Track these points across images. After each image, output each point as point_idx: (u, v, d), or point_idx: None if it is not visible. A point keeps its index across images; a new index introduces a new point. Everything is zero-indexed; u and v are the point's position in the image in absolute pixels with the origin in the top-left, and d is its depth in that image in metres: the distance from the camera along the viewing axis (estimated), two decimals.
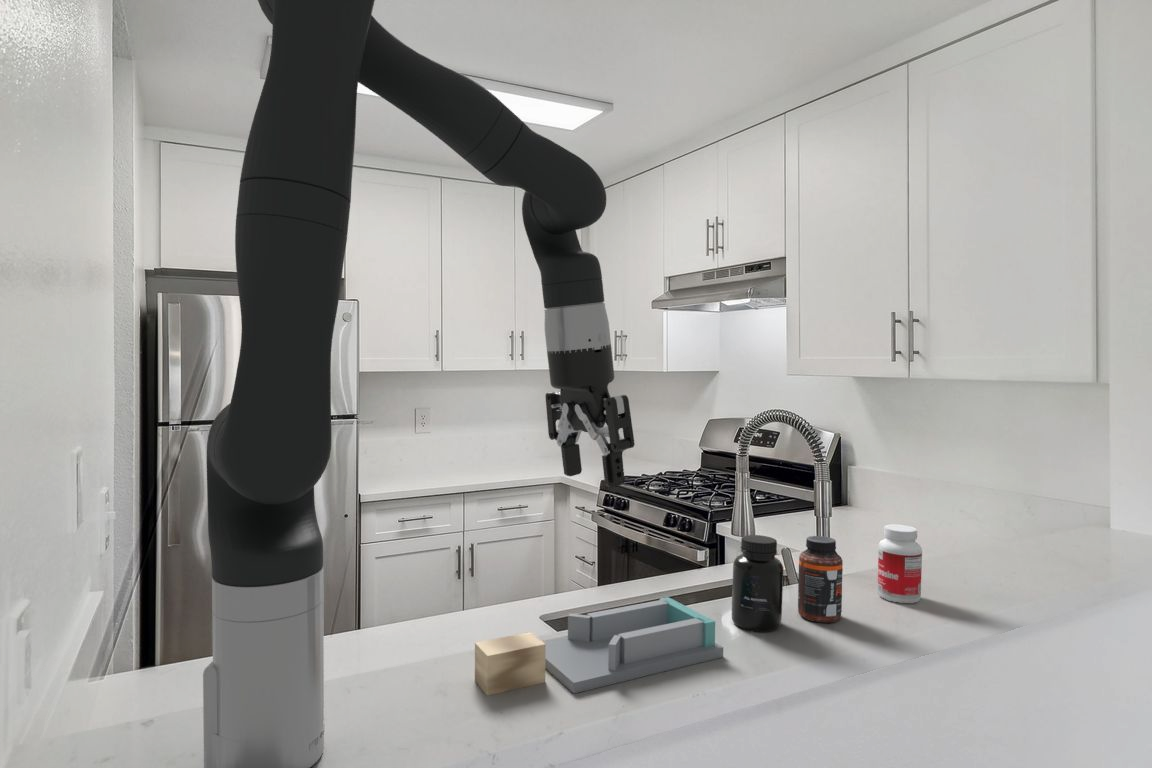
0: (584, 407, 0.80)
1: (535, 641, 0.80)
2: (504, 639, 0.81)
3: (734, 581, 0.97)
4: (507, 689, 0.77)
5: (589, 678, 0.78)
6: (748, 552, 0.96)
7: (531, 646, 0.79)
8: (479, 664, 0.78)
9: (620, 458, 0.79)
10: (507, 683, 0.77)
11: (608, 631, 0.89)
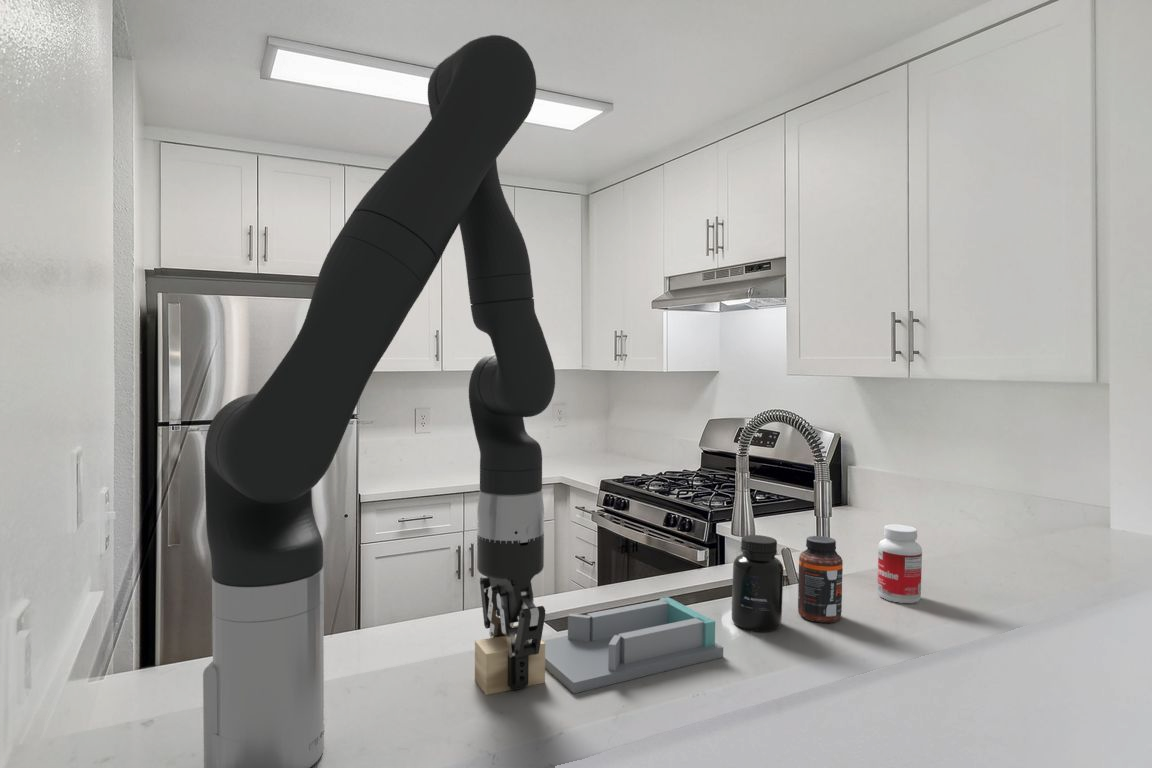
0: (505, 600, 0.77)
1: None
2: (504, 638, 0.81)
3: (734, 581, 0.97)
4: (506, 688, 0.77)
5: (589, 678, 0.78)
6: (748, 552, 0.96)
7: None
8: (479, 663, 0.79)
9: (525, 661, 0.77)
10: (506, 682, 0.77)
11: (608, 631, 0.89)
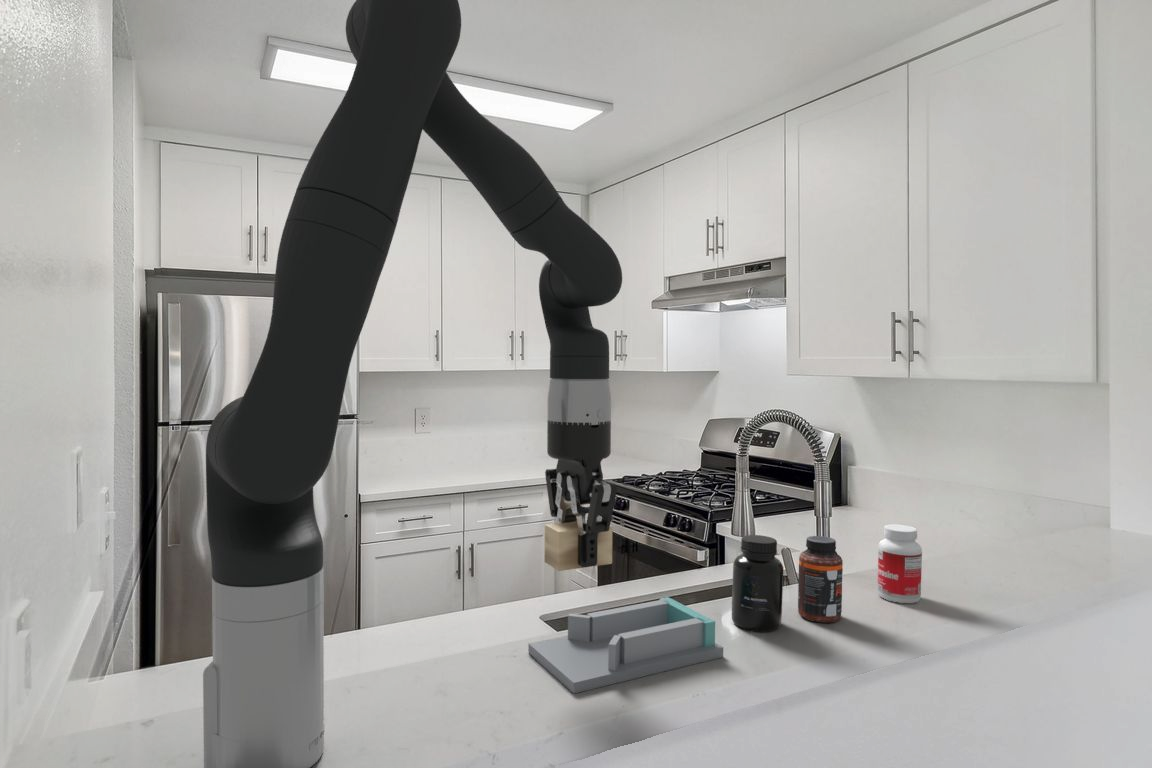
0: (575, 481, 0.81)
1: None
2: (572, 523, 0.84)
3: (734, 581, 0.97)
4: (577, 566, 0.81)
5: (589, 678, 0.78)
6: (748, 552, 0.96)
7: None
8: (550, 543, 0.82)
9: (595, 540, 0.81)
10: (577, 560, 0.81)
11: (608, 631, 0.89)
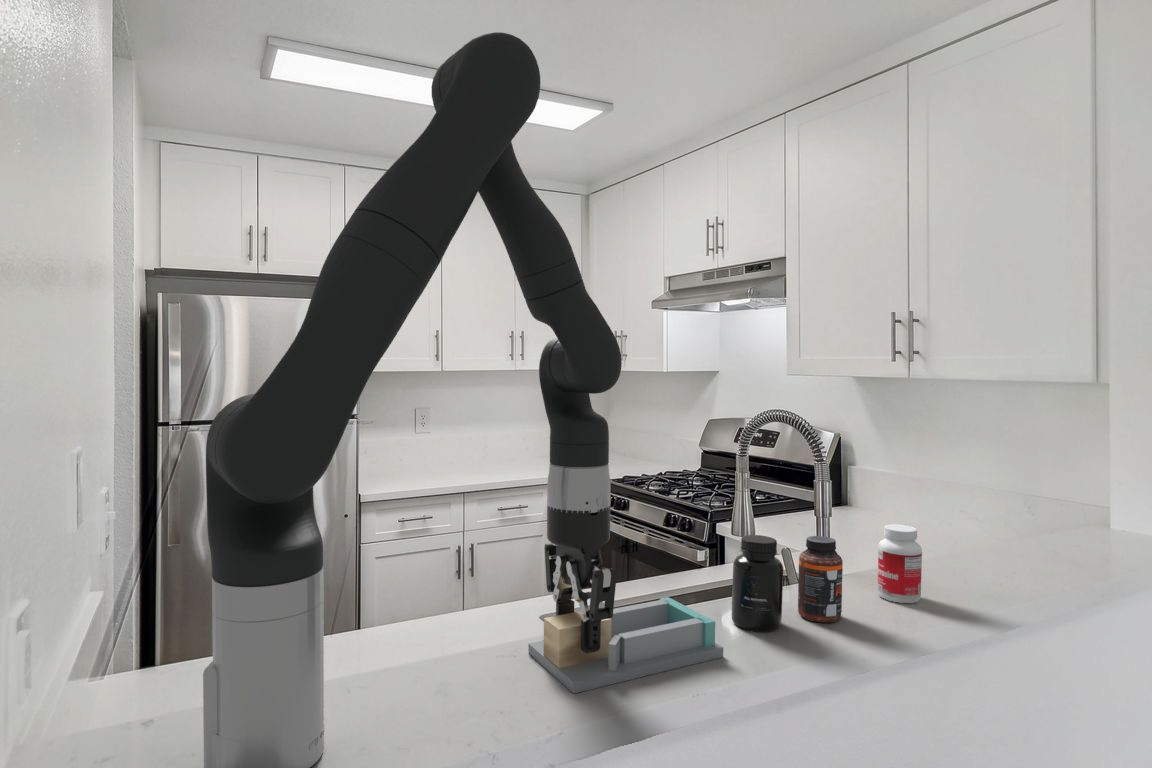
0: (575, 567, 0.81)
1: None
2: (571, 615, 0.85)
3: (734, 581, 0.97)
4: (577, 661, 0.81)
5: (589, 678, 0.78)
6: (748, 552, 0.96)
7: None
8: (549, 638, 0.82)
9: (598, 626, 0.80)
10: (577, 656, 0.81)
11: None
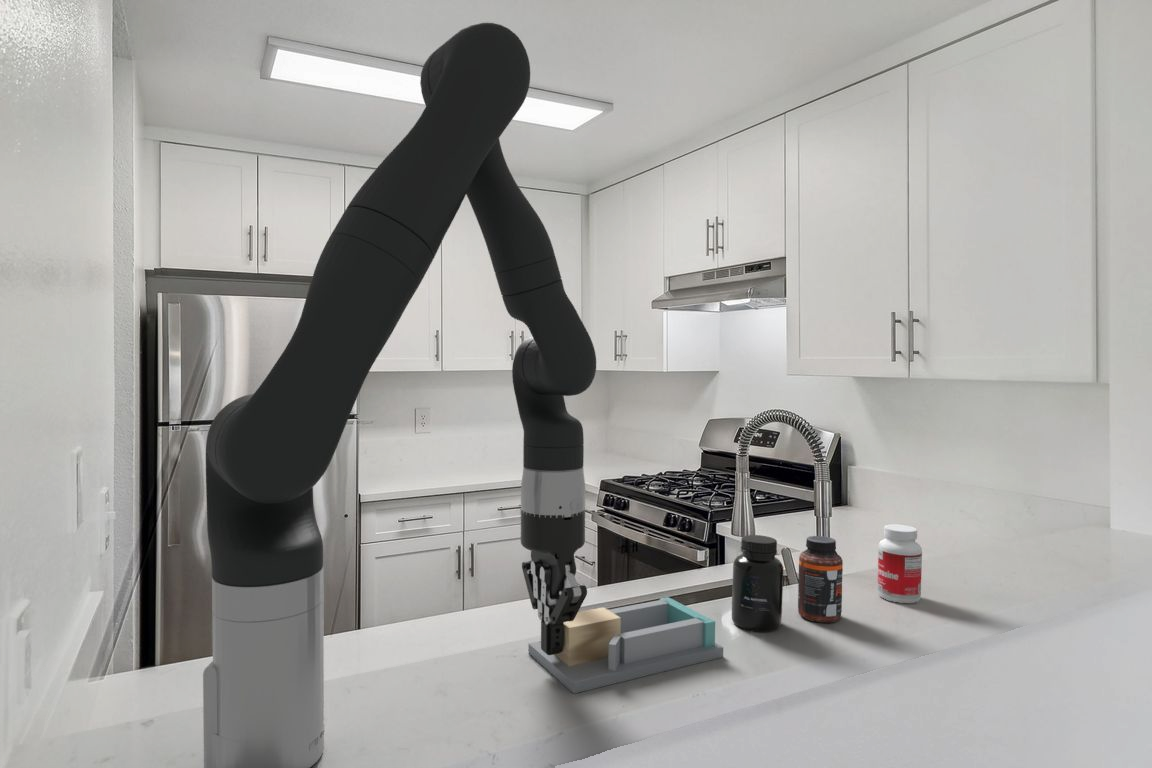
0: (548, 575, 0.80)
1: (610, 615, 0.85)
2: (580, 613, 0.85)
3: (734, 581, 0.97)
4: (586, 659, 0.82)
5: (589, 678, 0.78)
6: (748, 552, 0.96)
7: (607, 619, 0.83)
8: None
9: (560, 628, 0.81)
10: (586, 654, 0.82)
11: None
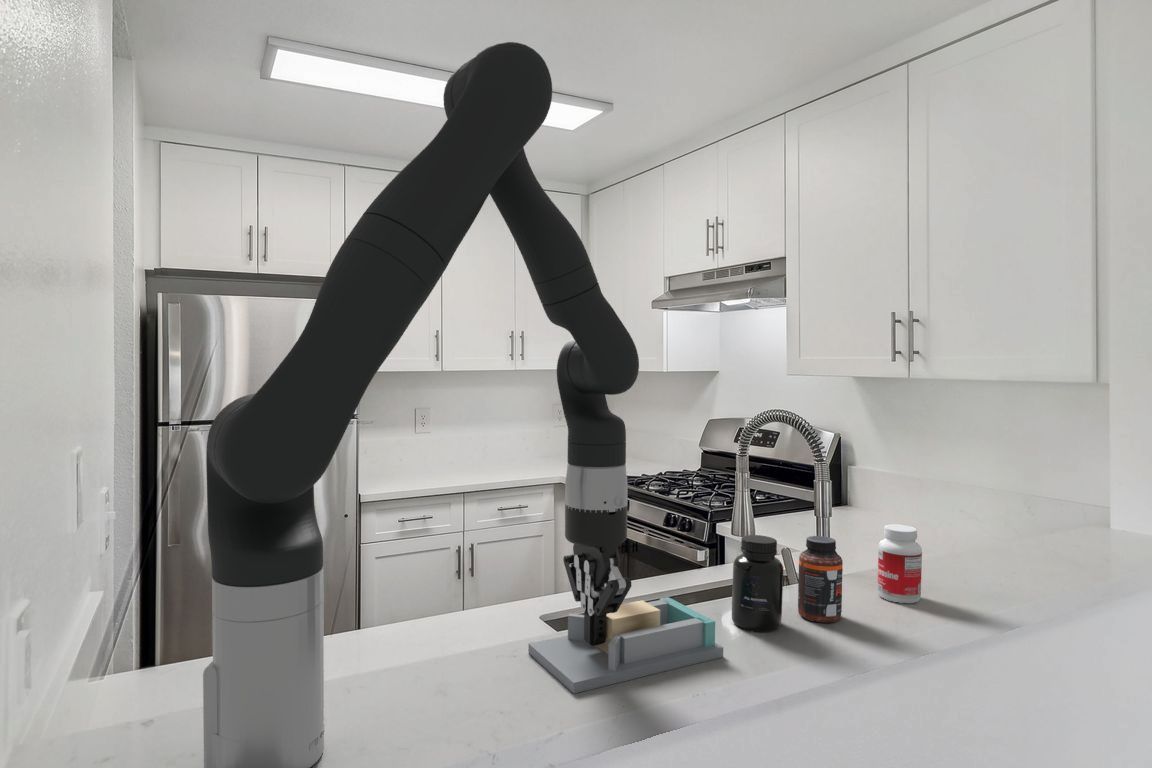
0: (593, 568, 0.82)
1: (650, 607, 0.88)
2: (621, 606, 0.88)
3: (734, 581, 0.97)
4: None
5: (589, 678, 0.78)
6: (748, 552, 0.96)
7: (648, 612, 0.86)
8: None
9: (603, 619, 0.84)
10: None
11: None
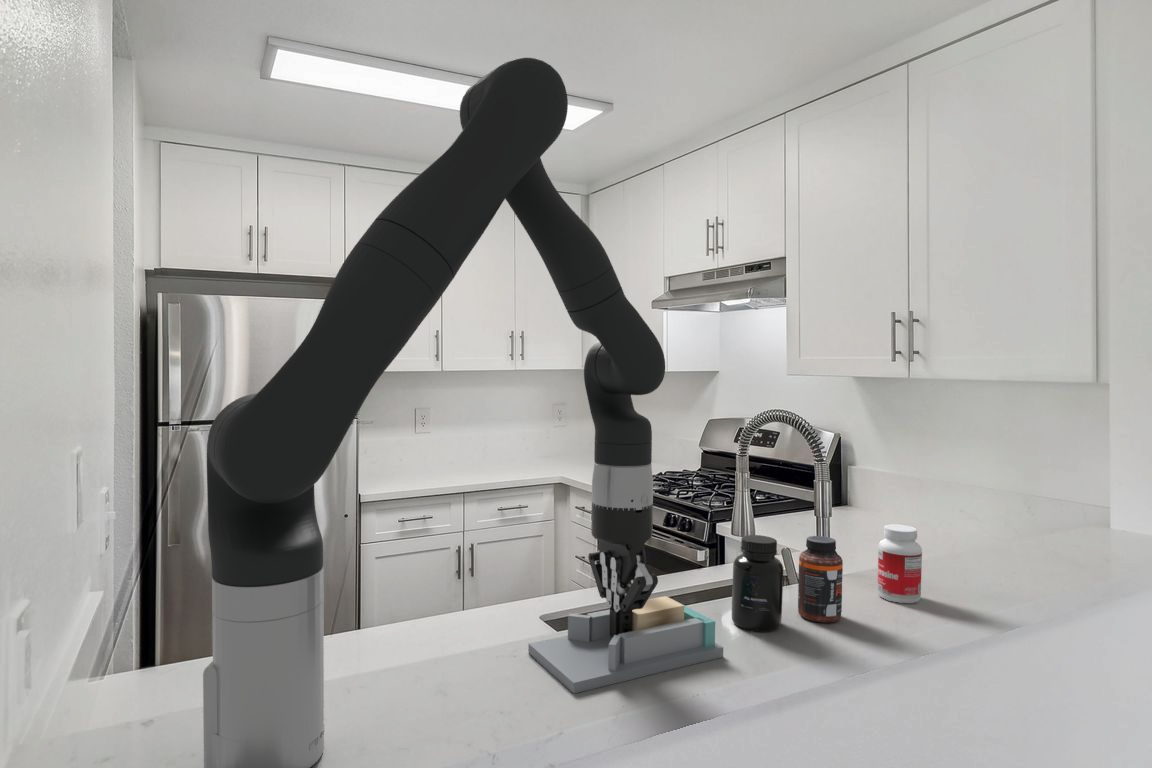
0: (619, 565, 0.84)
1: (673, 603, 0.89)
2: None
3: (734, 581, 0.97)
4: None
5: (589, 678, 0.78)
6: (748, 552, 0.96)
7: (672, 607, 0.88)
8: None
9: (629, 615, 0.85)
10: None
11: (608, 631, 0.89)
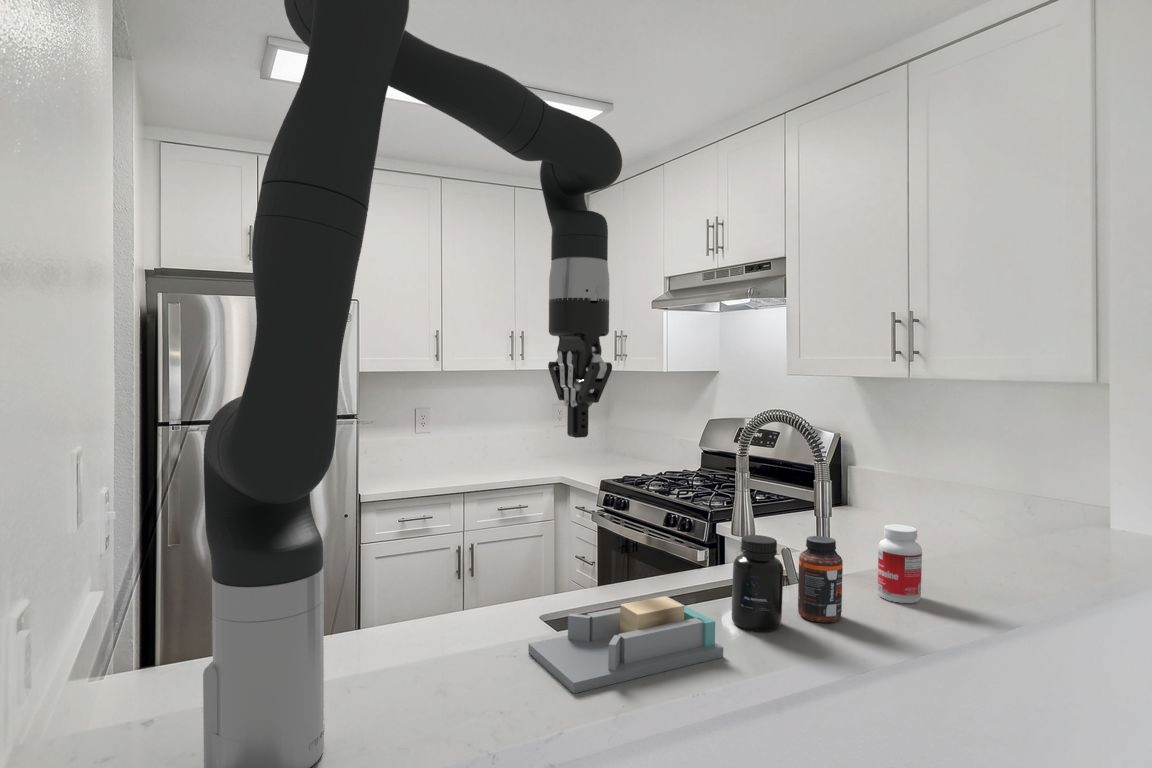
0: (575, 358, 0.85)
1: (673, 603, 0.89)
2: (645, 601, 0.90)
3: (734, 581, 0.97)
4: None
5: (589, 678, 0.78)
6: (748, 552, 0.96)
7: (672, 607, 0.88)
8: (626, 623, 0.87)
9: (586, 411, 0.86)
10: None
11: (608, 631, 0.89)
